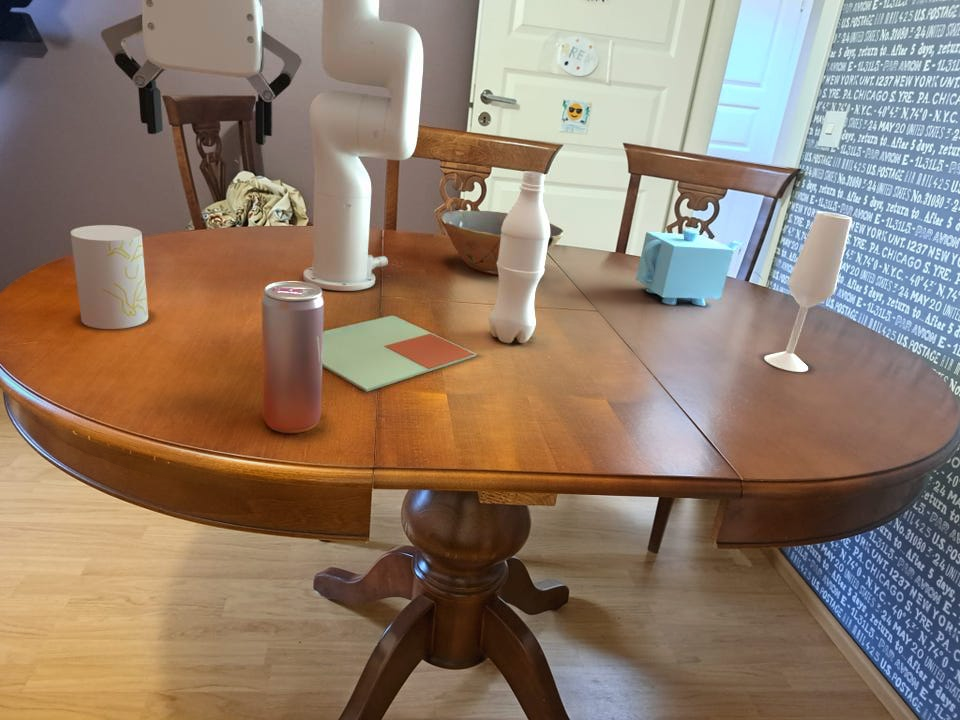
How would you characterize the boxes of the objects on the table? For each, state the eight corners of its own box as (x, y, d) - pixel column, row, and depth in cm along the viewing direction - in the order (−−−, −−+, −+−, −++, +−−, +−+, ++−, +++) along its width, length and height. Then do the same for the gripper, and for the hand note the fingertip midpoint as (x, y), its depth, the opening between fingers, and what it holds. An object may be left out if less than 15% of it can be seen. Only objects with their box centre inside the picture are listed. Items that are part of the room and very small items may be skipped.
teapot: (647, 305, 128) (663, 234, 122) (622, 287, 137) (636, 221, 132) (744, 308, 134) (763, 241, 128) (713, 290, 143) (730, 227, 138)
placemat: (392, 317, 105) (393, 314, 105) (476, 356, 94) (476, 353, 94) (282, 343, 90) (282, 339, 90) (366, 392, 80) (366, 388, 80)
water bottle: (537, 335, 105) (564, 174, 95) (525, 350, 99) (553, 179, 89) (495, 325, 107) (517, 167, 97) (480, 339, 100) (502, 171, 91)
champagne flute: (813, 365, 108) (864, 218, 98) (801, 375, 103) (853, 221, 93) (771, 351, 111) (816, 208, 102) (758, 360, 106) (804, 211, 97)
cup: (121, 333, 87) (112, 244, 82) (67, 322, 88) (55, 233, 84) (161, 314, 95) (154, 231, 90) (110, 304, 96) (101, 222, 91)
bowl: (579, 281, 138) (588, 233, 134) (490, 294, 122) (497, 241, 118) (499, 249, 155) (505, 207, 151) (412, 257, 139) (416, 210, 135)
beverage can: (269, 406, 74) (268, 278, 68) (324, 410, 75) (327, 283, 69) (257, 433, 69) (255, 296, 63) (316, 437, 69) (319, 301, 63)
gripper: (304, -43, 63) (301, 143, 70) (104, -76, 59) (121, 125, 66) (302, -55, 57) (299, 151, 63) (77, -94, 53) (99, 132, 59)
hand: (209, 138), depth 65 cm, fingers open, 9 cm apart
